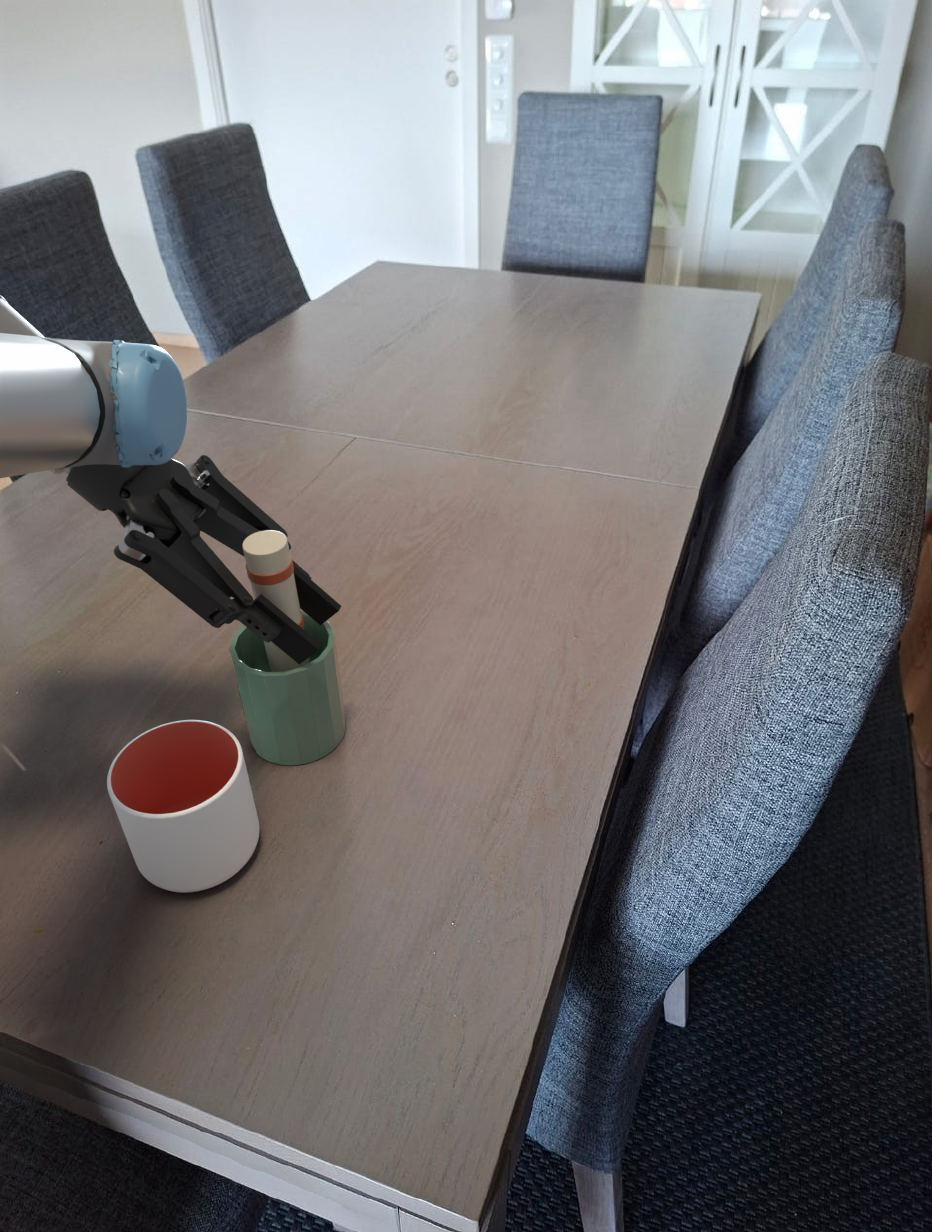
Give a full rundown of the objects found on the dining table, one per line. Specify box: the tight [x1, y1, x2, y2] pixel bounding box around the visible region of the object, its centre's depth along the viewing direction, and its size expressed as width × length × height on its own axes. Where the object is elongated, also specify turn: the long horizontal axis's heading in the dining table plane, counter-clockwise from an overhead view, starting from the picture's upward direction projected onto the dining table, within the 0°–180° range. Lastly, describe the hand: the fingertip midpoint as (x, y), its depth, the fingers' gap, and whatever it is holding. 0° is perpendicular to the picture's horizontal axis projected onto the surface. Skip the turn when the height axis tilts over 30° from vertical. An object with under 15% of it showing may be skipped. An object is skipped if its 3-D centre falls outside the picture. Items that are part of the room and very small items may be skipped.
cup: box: [106, 719, 260, 893], centre depth 69 cm, size 10×10×10 cm
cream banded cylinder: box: [242, 530, 309, 672], centre depth 75 cm, size 4×4×13 cm
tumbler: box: [228, 610, 346, 766], centre depth 80 cm, size 9×9×11 cm
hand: (320, 634), depth 75 cm, fingers open, 5 cm apart
